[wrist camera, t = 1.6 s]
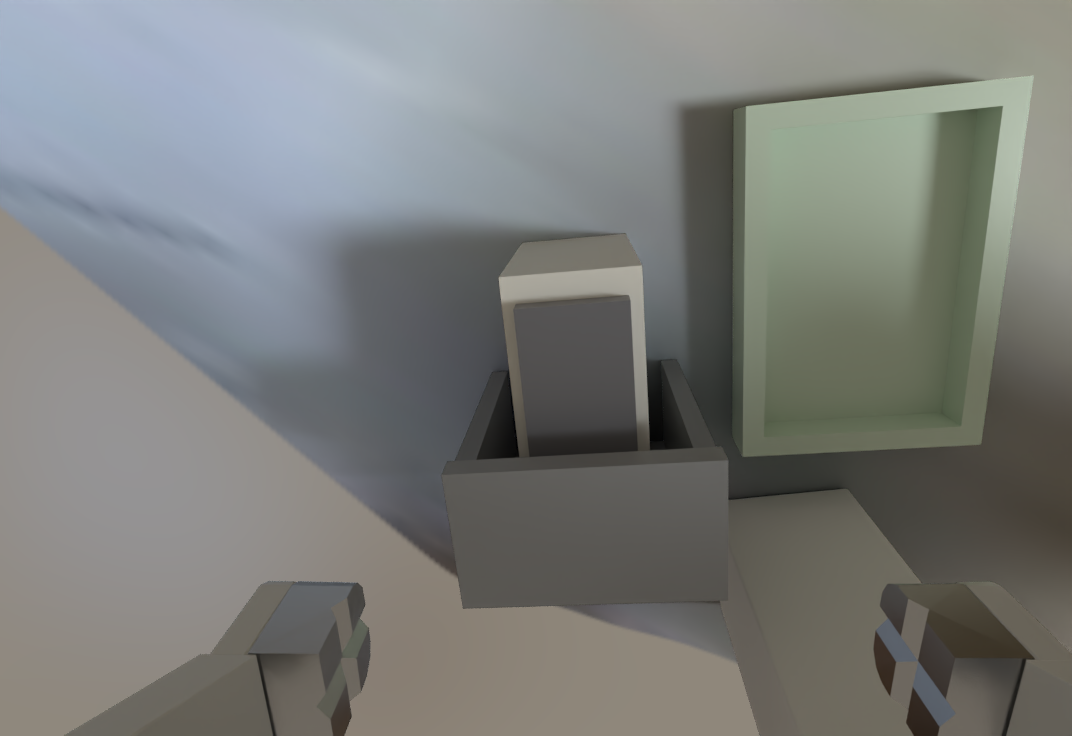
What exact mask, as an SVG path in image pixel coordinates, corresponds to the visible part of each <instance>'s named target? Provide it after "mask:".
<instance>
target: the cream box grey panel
mask: <svg viewBox="0 0 1072 736" xmlns="http://www.w3.org/2000/svg"><path fill="white" fill-rule="evenodd" d="M498 278H499V287H500V295H501V304H502V312H503V321H504V330H505V338H506V347H507V355H508V364H509V372H510V381H511V390H512V398H513V407H514V415H515V424H516V433H517V441H518V450H519V458H520V457H538V456H557V455H575V454H594V453H613V452H631V451H650V438H649V415H648V391H647V368H646V345H645V321H644V298H643V274H642V264H641V262H640V260H639V258H638V256H637V255H636V253H635V251H634V249H633V247H632V245H631V243H630V241H629V239H628V237H627V235H626V234H615V235H604V236H593V237H582V238H570V239H559V240H548V241H536V242H525V243H522V244H521V245H520V247H519V248H518V250H517V251H516V252H515V254H514V255H513V257H512V258H511V260H510V261H509V263H508V264H507V266H506V267H505V269H504V270H503V271H502V273H501V274H500V276H499V277H498Z"/></svg>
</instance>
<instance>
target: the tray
mask: <svg viewBox="0 0 1072 736" xmlns="http://www.w3.org/2000/svg"><path fill="white" fill-rule="evenodd" d="M1033 78H1034V76H1025V77H1016V78H1006V79H997V80H988V81H978V82H969V83H959V84H950V85H941V86H931V87H922V88H913V89H903V90H894V91H884V92H875V93H866V94H856V95H847V96H837V97H828V98H819V99H809V100H800V101H790V102H781V103H772V104H762V105H753V106H745V107H742V108H738V109H735V110H733V360H732V438H733V440H734V441H735V443H736V445H737V447H738V449H739V451H740V453H741V455H742V457H755V456H774V455H793V454H813V453H832V452H851V451H870V450H889V449H909V448H928V447H947V446H966V445H981V442H982V435H983V428H984V421H985V414H986V407H987V400H988V393H989V386H990V379H991V372H992V365H993V358H994V351H995V344H996V337H997V330H998V323H999V316H1000V309H1001V302H1002V295H1003V288H1004V281H1005V274H1006V267H1007V260H1008V253H1009V246H1010V239H1011V232H1012V225H1013V218H1014V211H1015V204H1016V197H1017V190H1018V183H1019V176H1020V169H1021V162H1022V155H1023V148H1024V141H1025V134H1026V127H1027V120H1028V113H1029V106H1030V99H1031V92H1032V85H1033Z"/></svg>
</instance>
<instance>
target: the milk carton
mask: <svg viewBox="0 0 1072 736" xmlns="http://www.w3.org/2000/svg"><path fill="white" fill-rule="evenodd" d="M887 584H922V583H921V582H920V580H919V579H918V578H917V576H916V575H915V574H914V573H913V571H912V570H911V569H910V568H909V566H908V565H907V564H906V562H905V561H904V560H903V559H902V557H901V556H900V555H899V554H898V552H897V551H896V550H895V548H894V547H893V546H892V545H891V543H890V542H889V541H888V540H887V538H886V537H885V536H884V534H883V533H882V532H881V531H880V529H879V528H878V527H877V526H876V524H875V523H874V522H873V521H872V519H871V518H870V517H869V515H868V514H867V513H866V512H865V510H864V509H863V508H862V507H861V505H860V504H859V503H858V501H857V500H856V499H855V498H854V496H853V495H852V494H851V493H850V491H849V490H848V489H836V490H826V491H816V492H805V493H795V494H785V495H775V496H765V497H754V498H744V499H734V500H728V601H720V605H721V609H722V613H723V616H724V619H725V623H726V626H727V629H728V632H729V636H730V639H731V642H732V646H733V649H734V652H735V656H736V659H737V662H738V666H739V669H740V672H741V675H742V678H743V682H744V685H745V689H746V692H747V695H748V698H749V702H750V705H751V709H752V712H753V715H754V719H755V722H756V725H757V729H758V732H759V735H760V736H914V735H913V734H912V732H911V730H910V729H909V727H908V725H907V724H906V720H907V715H908V709H907V708H905V707H904V706H903V705H901V704H900V703H898V702H897V701H895V700H894V699H892V698H891V697H890V696H889V694H888V692H887V691H886V689H885V687H884V686H883V684H882V682H881V679H880V677H879V674H878V671H877V669H876V663H875V657H874V650H873V647H874V639H875V631H876V629H877V628H878V627H879V626H880V625H881V624H882V623H883V622H885V621H886V620H887V619H888V617H887V616H886V614H885V613H884V612H883V610H882V609H881V607H880V602H881V596H882V592H883V590H884V588H885V587H886V585H887Z"/></svg>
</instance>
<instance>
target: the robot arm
mask: <svg viewBox="0 0 1072 736" xmlns="http://www.w3.org/2000/svg"><path fill="white" fill-rule="evenodd" d="M364 607H365V600H364V594H363V588H362V587H361V586H360V585H359V584H358V583H343V582H302V581H300V582H288V581H287V582H286V581H284V582H283V581H280V582H279V581H268V582H266V583H264V584H261V585H260V586H259V587H258V589H257V590H256V592H255V593H254V594H253V596H252V597H251V599H250V600H249V601H248V603H247V604H246V605H245V607H244V608H243V610H242V611H241V612H240V614H239V615H238V616H237V618H236V619H235V621H234V622H233V623H232V625H231V626H230V628H229V629H228V630H227V632H226V633H225V634H224V636H223V637H222V638H221V640H220V641H219V643H218V644H217V645H216V647H215V648H214V650H213V651H212V652H211V654H202V655H201V654H200V655H198V656H197V657H195V658H193V659H192V660H190V661H188V662H187V663H185V664H183V665H182V666H180V667H178V668H177V669H175V670H173V671H172V672H170V673H168V674H166V675H165V676H163V677H161V678H160V679H158V680H156V681H155V682H153V683H151V684H150V685H148V686H146V687H145V688H143V689H141V690H140V691H138V692H136V693H135V694H133V695H131V696H130V697H128V698H126V699H124V700H123V701H121V702H119V703H118V704H116V705H114V706H113V707H111V708H109V709H108V710H106V711H104V712H103V713H101V714H99V715H98V716H96V717H94V718H93V719H91V720H89V721H88V722H86V723H84V724H83V725H81V726H79V727H78V728H76V729H74V730H72V731H71V732H69V733H67V734H66V735H64V736H344V735H345V733H346V730H347V727H348V725H349V722H350V719H351V717H352V715H351V708H350V701H351V700H352V699H353V698H354V697H355V696H357V695H358V694H359V693H360V692H361V691H362V688H363V685H364V683H365V680H366V677H367V672H368V667H369V661H370V634H369V628H368V627H367V626H366V625H365V624H364V623H363V621H362V620H361V619H360V616H361V614H362V611H363V609H364ZM880 607H881V609H882V610H883V612H884V613H885V614H886V616H887V617H888V619H887V620H886V621H885V622H883V623H882V624H881V625H880V626H879V627H878V628H877V629H876V631H875V639H874V647H873V650H874V657H875V663H876V669H877V671H878V674H879V677H880V679H881V682H882V684H883V686H884V687H885V689H886V691H887V692H888V694H889V696H890V697H891V698H892V699H894V700H895V701H897V702H898V703H900V704H901V705H903V706H904V707H905V708H907V709H908V715H907V720H906V724H907V725H908V727H909V729H910V730H911V732H912V734H913V735H914V736H1072V654H1071V653H1070V652H1069V651H1068V650H1067V649H1066V648H1065V647H1064V646H1063V645H1062V644H1061V643H1060V642H1059V641H1058V640H1057V639H1056V638H1055V637H1054V636H1053V635H1052V634H1051V633H1050V632H1049V631H1048V630H1047V629H1045V628H1044V627H1043V626H1042V625H1041V624H1040V623H1039V622H1038V621H1037V620H1036V619H1035V618H1034V617H1033V616H1032V615H1031V614H1030V613H1029V612H1028V611H1027V610H1026V609H1025V608H1024V607H1023V606H1022V605H1021V604H1020V603H1019V602H1017V601H1016V600H1015V599H1014V598H1013V597H1012V596H1011V595H1010V594H1009V593H1008V592H1007V591H1006V590H1005V589H1004V588H1003V587H1002V586H1000V585H998V584H996V583H994V582H991V581H985V582H956V583H945V584H887V585H886V587H885V588H884V590H883V592H882V596H881V602H880Z"/></svg>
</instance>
